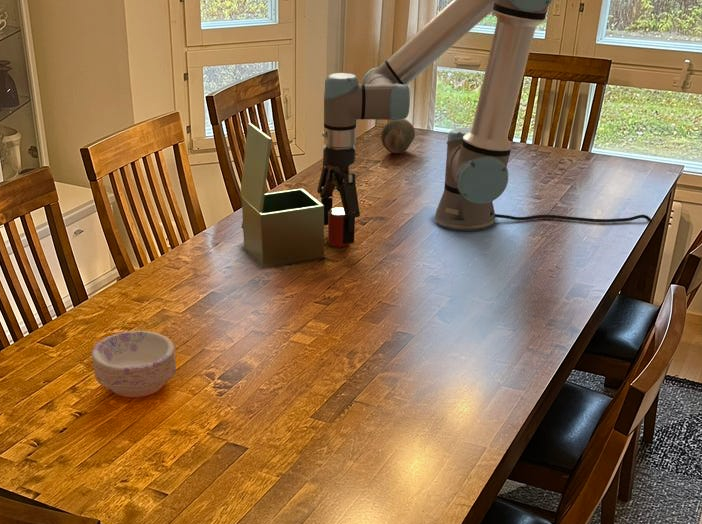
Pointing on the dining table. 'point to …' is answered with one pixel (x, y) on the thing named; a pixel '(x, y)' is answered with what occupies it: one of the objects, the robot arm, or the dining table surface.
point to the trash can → (284, 229)
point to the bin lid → (255, 167)
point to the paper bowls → (134, 362)
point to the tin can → (335, 227)
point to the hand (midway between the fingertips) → (337, 233)
